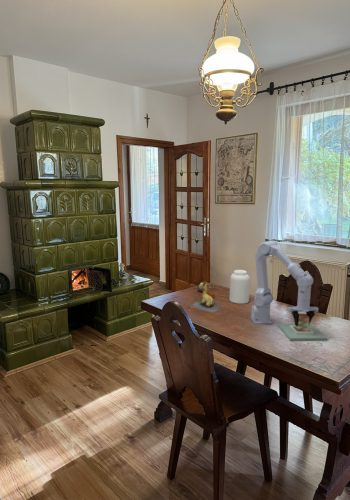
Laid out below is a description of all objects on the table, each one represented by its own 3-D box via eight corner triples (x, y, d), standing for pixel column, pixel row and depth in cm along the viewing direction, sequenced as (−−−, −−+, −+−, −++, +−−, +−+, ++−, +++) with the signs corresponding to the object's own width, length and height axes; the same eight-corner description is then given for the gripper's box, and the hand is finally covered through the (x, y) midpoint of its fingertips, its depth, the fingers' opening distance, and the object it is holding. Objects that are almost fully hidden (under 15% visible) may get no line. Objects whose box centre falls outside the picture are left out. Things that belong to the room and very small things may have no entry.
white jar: (242, 305, 213) (244, 274, 209) (225, 301, 221) (226, 270, 217) (252, 300, 222) (254, 270, 219) (235, 296, 230) (236, 267, 227)
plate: (290, 340, 163) (290, 336, 163) (277, 326, 181) (277, 322, 180) (327, 340, 164) (327, 336, 163) (311, 325, 181) (311, 321, 181)
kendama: (208, 293, 224) (195, 283, 242) (209, 301, 226) (196, 291, 244) (216, 291, 226) (203, 281, 244) (217, 299, 228) (204, 289, 246)
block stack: (298, 331, 169) (299, 316, 169) (294, 327, 174) (295, 313, 173) (308, 331, 170) (309, 316, 169) (304, 327, 175) (304, 313, 174)
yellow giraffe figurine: (200, 300, 223) (201, 276, 219) (225, 306, 213) (227, 281, 210) (187, 308, 209) (188, 283, 206) (214, 314, 200) (215, 288, 196)
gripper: (292, 301, 165) (290, 328, 167) (322, 301, 165) (319, 328, 168) (287, 297, 172) (285, 323, 174) (315, 297, 172) (313, 322, 175)
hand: (301, 325), depth 171 cm, fingers open, 5 cm apart
